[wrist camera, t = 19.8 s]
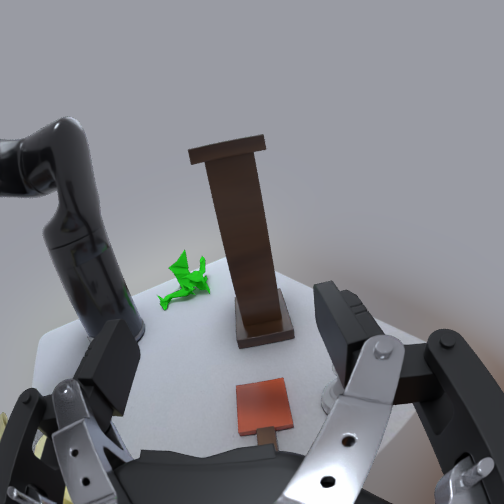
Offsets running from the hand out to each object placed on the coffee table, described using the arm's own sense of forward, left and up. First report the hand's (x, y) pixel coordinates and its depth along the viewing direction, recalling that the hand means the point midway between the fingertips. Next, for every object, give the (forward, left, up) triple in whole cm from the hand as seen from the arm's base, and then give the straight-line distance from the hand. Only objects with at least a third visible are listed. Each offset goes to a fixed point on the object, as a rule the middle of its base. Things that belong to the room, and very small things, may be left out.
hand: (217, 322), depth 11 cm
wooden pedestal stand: (-17, +14, -17) cm, 27 cm away
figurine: (-30, +14, -15) cm, 36 cm away
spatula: (-1, 0, -17) cm, 17 cm away
